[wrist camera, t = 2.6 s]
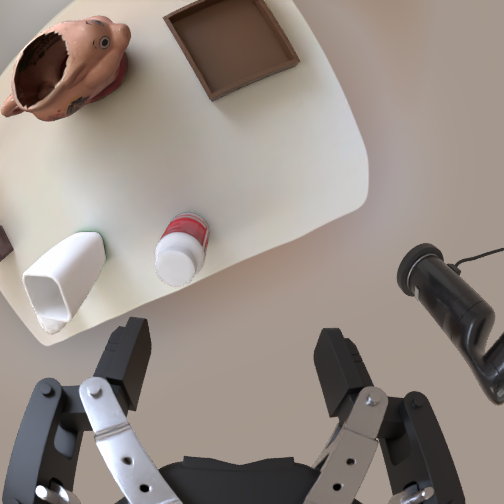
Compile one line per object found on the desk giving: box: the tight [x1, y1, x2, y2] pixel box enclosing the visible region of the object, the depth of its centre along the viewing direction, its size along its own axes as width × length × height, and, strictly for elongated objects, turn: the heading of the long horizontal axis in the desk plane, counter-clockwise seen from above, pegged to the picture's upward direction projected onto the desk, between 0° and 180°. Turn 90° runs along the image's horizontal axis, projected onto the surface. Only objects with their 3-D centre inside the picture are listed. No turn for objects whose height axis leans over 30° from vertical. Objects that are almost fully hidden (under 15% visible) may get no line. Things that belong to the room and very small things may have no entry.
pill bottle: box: [155, 213, 209, 287], centre depth 34 cm, size 6×6×11 cm
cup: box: [22, 232, 106, 322], centre depth 32 cm, size 7×7×15 cm
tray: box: [163, 0, 300, 101], centre depth 26 cm, size 14×12×3 cm
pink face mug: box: [1, 16, 131, 121], centre depth 21 cm, size 20×12×14 cm, turn 112°
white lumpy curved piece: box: [36, 313, 68, 334], centre depth 39 cm, size 6×8×12 cm
